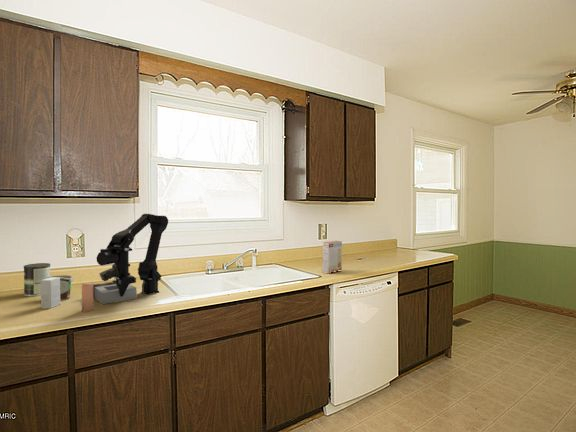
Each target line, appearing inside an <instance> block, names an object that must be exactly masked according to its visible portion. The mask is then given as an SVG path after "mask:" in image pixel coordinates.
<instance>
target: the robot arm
mask: <svg viewBox="0 0 576 432" xmlns="http://www.w3.org/2000/svg"><path fill="white" fill-rule="evenodd" d="M168 224H169V218H168V217H167V216H166V215H159V214H158V215H156V214H152V213H143V214H141V216H140V217H138V218H137V220H135V221H134V222H133V223H132V224H131V225H129V226H128V227H127V228H126V229H123V230H121V231H118V232H117V233H115V234H113V235H112V236H111V239H110V241H109V243H108V245H107V246H106V248H100V251H99V252H98V254H97V256H96V262H97V264H98V265H99V266H107V265H111V264H112V265H111V268H109V269H106V270H103V271H101V272H99V273H98V274H99V277H100V279H101V281H103V282H107V281H109V280H111V279H112V278H113V280H112V281H111V282H114V283H115V284H116V285H117V288H118V291H119V294H120V296H121V297H122V296H124V293H125V291H126V289H127V287H128V286H129V284H130V285H132V284H136V283H137V278H136V276H133V275H131V273H130V269H129V267H131V263H129V252H132V251H133V248H132V247H130V246H131V244H132V243H133V242H134V240H135V237H136V236H137V234H139V233H140V232H141V231H142V230H143V229H144V228H146V226H147V225H149V227H150V228H149V229H150V230H151V234H150V237H149V242H148V246H147V249H146V254H145V259H144V260H143V261H140V262H139V263H138V267H137V275H138V276H139V279H140V281H142V283H141V293H143V294H145V295H150V294H151V295H152V294H157V293H160V290H159V281H160V280H161V279H162V274H160V272H159V271H158V264H157V257H158V251H159V249H160V248H159V247H160V243H161V240H162V239H161V238H162V235H163V233H164V232H165V230H166V229H167V226H168Z"/></svg>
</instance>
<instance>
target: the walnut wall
mask: <svg viewBox="0 0 576 432" xmlns="http://www.w3.org/2000/svg"><path fill="white" fill-rule="evenodd" d="M112 284H115V283H114V282H112V281H108V282H107V281H105V282H100V283H93V299H95V298H94V287H98V286H105V285H112Z"/></svg>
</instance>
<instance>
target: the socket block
mask: <svg viewBox="0 0 576 432" xmlns="http://www.w3.org/2000/svg"><path fill="white" fill-rule="evenodd" d="M93 299H95V300H97V301H98V303H99V302H100V304H102V305H105V304H112V302H113V303H117V302H118V303H119V302H123V301H128V300H129V301H130V300H134V299H137V287H136V286H134V285H132V284H129V286H128V287H127V289H126V291H125V293H124V296H122V297H121V296H120V294H119V291H118V288H117V285H116V284H112V285H105V286H98V287H94V298H93Z"/></svg>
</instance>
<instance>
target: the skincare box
mask: <svg viewBox="0 0 576 432" xmlns="http://www.w3.org/2000/svg"><path fill="white" fill-rule="evenodd" d="M60 305H61V300H60V277H50V278H47V279H44V280H41V295H40V308H41V309H42V310H43V309H45V310H46V309H54V308H55V307H57V306H60Z"/></svg>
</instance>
